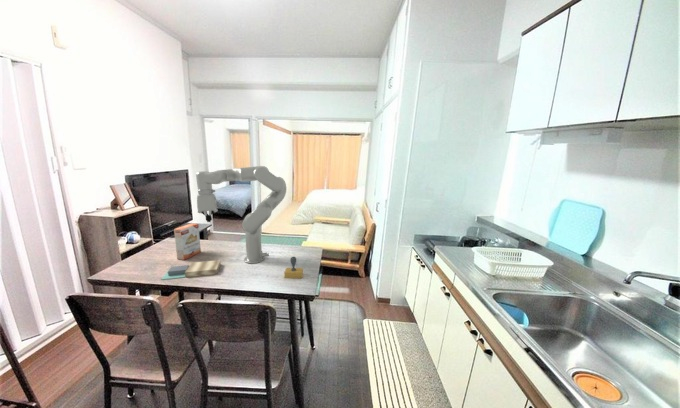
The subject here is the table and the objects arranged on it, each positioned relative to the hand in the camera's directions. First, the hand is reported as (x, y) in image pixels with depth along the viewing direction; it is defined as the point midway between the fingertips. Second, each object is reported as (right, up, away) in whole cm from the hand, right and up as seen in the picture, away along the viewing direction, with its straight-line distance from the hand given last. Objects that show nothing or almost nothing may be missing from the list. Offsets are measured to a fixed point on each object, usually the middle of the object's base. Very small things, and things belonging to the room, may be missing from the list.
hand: (209, 221), depth 146 cm
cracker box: (-21, -24, +14) cm, 35 cm away
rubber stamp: (+54, -32, -7) cm, 63 cm away
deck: (0, -29, -5) cm, 29 cm away
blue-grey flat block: (-13, -28, -8) cm, 32 cm away
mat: (-14, -29, -9) cm, 34 cm away
